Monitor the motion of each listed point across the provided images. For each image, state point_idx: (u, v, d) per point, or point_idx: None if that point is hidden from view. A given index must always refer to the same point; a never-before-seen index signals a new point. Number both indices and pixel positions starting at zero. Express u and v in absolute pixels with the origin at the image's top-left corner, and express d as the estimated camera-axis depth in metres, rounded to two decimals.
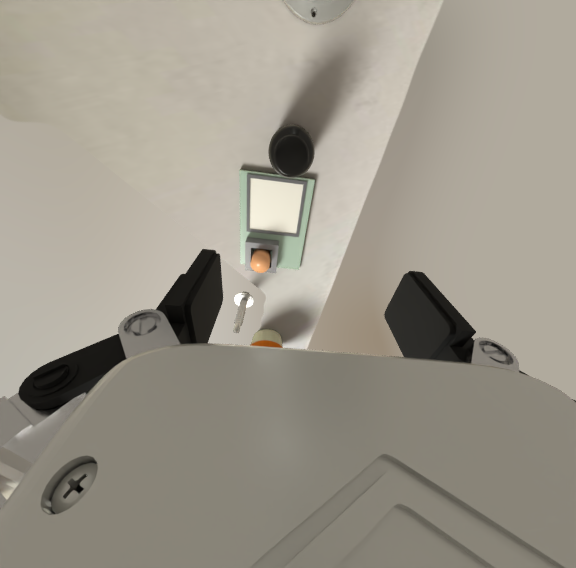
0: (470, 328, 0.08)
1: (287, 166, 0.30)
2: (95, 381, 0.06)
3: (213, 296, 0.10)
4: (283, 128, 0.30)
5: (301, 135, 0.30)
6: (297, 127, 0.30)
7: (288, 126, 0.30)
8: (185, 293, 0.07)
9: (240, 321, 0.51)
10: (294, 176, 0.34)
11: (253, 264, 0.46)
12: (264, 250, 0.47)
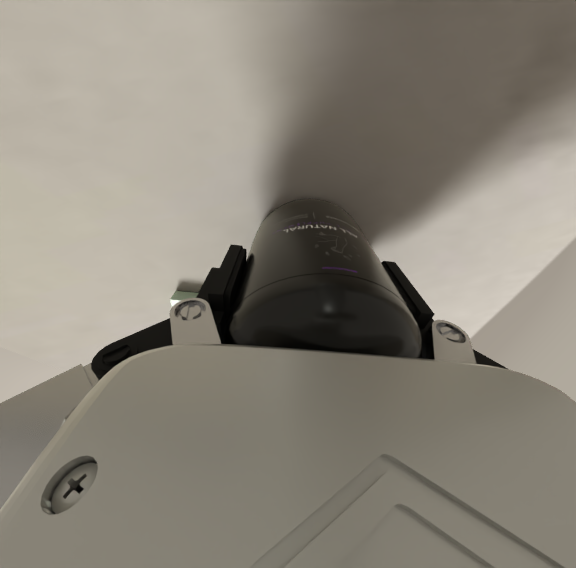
0: (429, 311, 0.08)
1: None
2: None
3: None
4: (284, 305, 0.06)
5: (383, 345, 0.06)
6: (361, 302, 0.05)
7: (311, 295, 0.06)
8: (224, 283, 0.08)
9: None
10: None
11: None
12: None
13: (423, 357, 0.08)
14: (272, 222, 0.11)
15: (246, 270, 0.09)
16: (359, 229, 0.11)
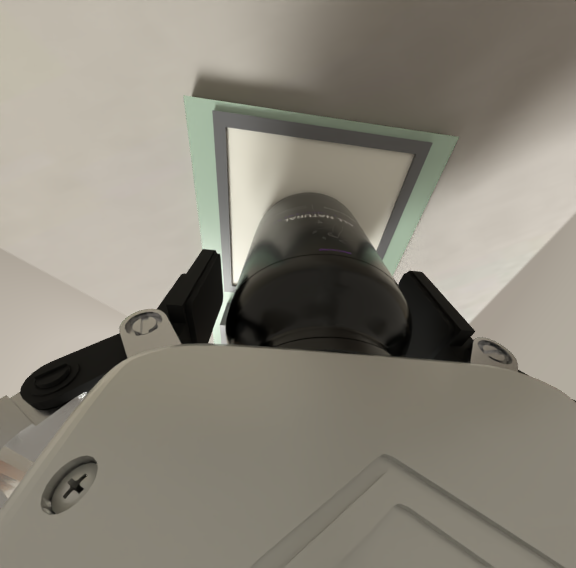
0: (470, 327, 0.08)
1: None
2: (96, 380, 0.06)
3: (214, 296, 0.10)
4: (284, 281, 0.06)
5: (374, 317, 0.06)
6: (354, 278, 0.06)
7: (309, 272, 0.06)
8: (186, 293, 0.07)
9: None
10: None
11: None
12: None
13: None
14: (273, 214, 0.11)
15: (249, 257, 0.09)
16: (355, 220, 0.11)
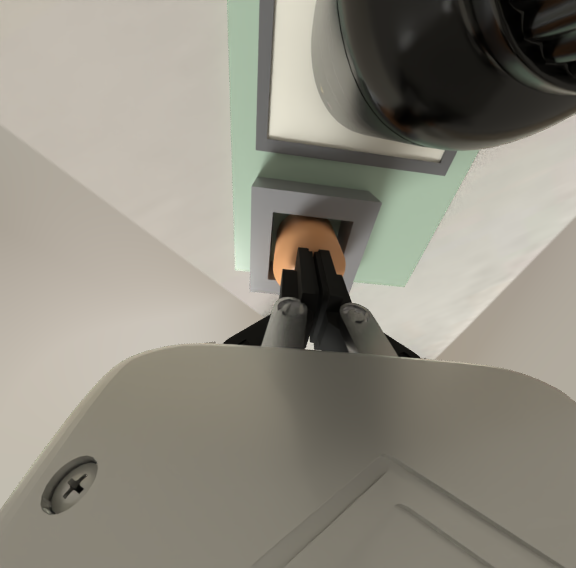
0: (340, 294, 0.08)
1: None
2: None
3: None
4: None
5: None
6: None
7: None
8: (311, 284, 0.09)
9: None
10: (510, 134, 0.05)
11: (284, 268, 0.12)
12: (320, 218, 0.13)
13: (334, 339, 0.08)
14: None
15: None
16: None
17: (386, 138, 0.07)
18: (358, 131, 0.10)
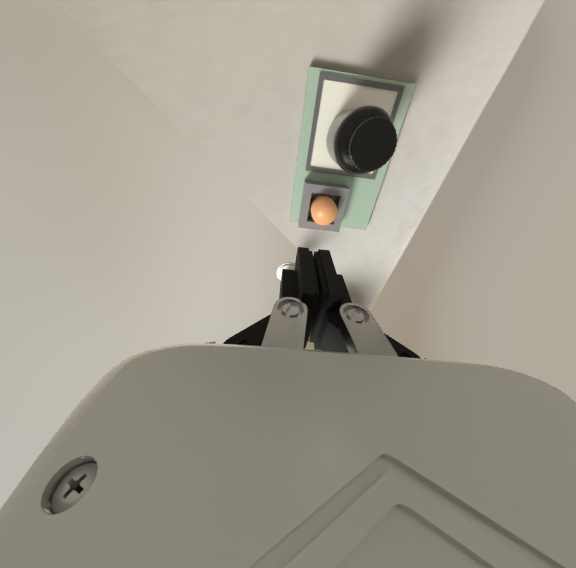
0: (340, 294, 0.08)
1: (365, 159, 0.23)
2: None
3: None
4: (359, 110, 0.23)
5: (383, 119, 0.23)
6: (378, 108, 0.23)
7: (366, 107, 0.23)
8: (311, 284, 0.09)
9: None
10: (364, 173, 0.27)
11: (315, 212, 0.34)
12: (328, 195, 0.35)
13: (334, 339, 0.08)
14: (341, 114, 0.28)
15: (338, 121, 0.26)
16: None
17: None
18: None
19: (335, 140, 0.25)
